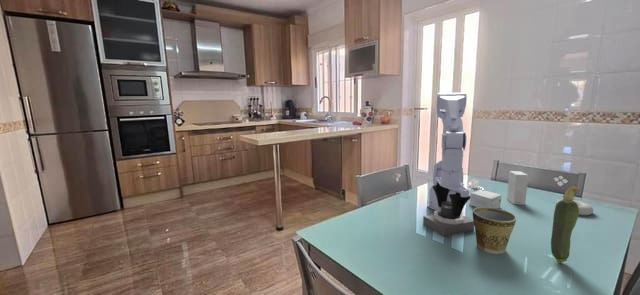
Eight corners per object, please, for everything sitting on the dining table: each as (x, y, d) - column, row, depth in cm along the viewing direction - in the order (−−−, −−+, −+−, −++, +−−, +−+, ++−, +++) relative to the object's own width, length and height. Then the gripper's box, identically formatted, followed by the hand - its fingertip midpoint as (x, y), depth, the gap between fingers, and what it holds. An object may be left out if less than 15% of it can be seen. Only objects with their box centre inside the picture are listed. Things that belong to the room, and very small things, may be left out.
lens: (437, 217, 88) (438, 202, 87) (445, 214, 91) (446, 200, 90) (450, 222, 85) (451, 207, 84) (458, 219, 87) (459, 204, 86)
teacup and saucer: (468, 184, 133) (468, 176, 133) (486, 188, 128) (487, 180, 127) (461, 189, 127) (462, 180, 127) (480, 192, 122) (481, 184, 121)
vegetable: (543, 256, 71) (553, 182, 68) (559, 255, 71) (569, 181, 68) (559, 266, 66) (571, 187, 63) (576, 265, 67) (588, 187, 64)
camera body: (423, 224, 90) (423, 212, 90) (451, 218, 94) (451, 207, 94) (444, 236, 82) (444, 223, 81) (473, 229, 86) (474, 217, 85)
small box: (489, 211, 100) (490, 198, 99) (468, 205, 107) (469, 192, 106) (500, 207, 104) (502, 194, 103) (480, 201, 111) (481, 189, 110)
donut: (564, 205, 106) (549, 208, 102) (566, 196, 106) (550, 200, 102) (598, 214, 97) (583, 219, 93) (600, 205, 96) (584, 209, 93)
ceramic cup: (513, 262, 69) (517, 224, 67) (468, 251, 74) (471, 216, 72) (510, 240, 79) (514, 207, 78) (471, 232, 85) (474, 201, 83)
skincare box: (525, 205, 106) (529, 175, 104) (513, 204, 106) (516, 174, 105) (517, 199, 112) (520, 171, 110) (506, 199, 112) (509, 170, 110)
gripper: (479, 175, 78) (476, 219, 81) (449, 164, 93) (446, 202, 95) (457, 176, 77) (454, 221, 80) (429, 165, 92) (427, 203, 94)
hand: (448, 211), depth 87 cm, fingers open, 7 cm apart
